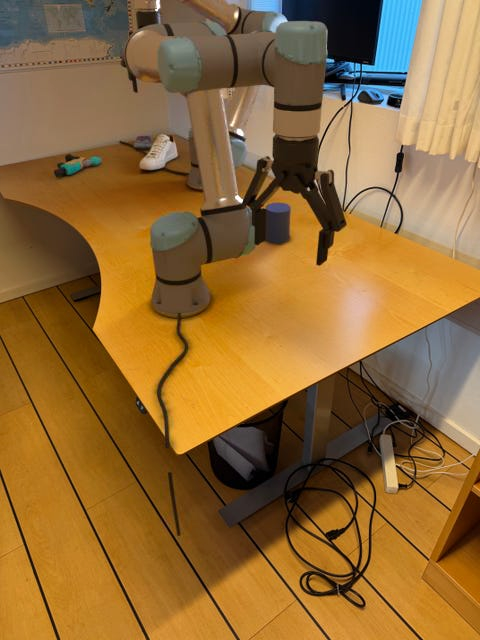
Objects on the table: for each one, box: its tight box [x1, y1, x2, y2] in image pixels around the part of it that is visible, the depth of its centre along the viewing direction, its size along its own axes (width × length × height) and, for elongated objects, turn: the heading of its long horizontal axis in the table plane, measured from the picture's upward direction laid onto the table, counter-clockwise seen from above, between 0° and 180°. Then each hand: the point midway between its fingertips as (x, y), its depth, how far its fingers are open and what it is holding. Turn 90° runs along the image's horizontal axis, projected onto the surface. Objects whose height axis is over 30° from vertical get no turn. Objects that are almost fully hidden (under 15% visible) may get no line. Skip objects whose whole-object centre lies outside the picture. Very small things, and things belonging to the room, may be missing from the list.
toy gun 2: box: [132, 135, 155, 151], centre depth 238 cm, size 4×19×15 cm
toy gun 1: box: [53, 153, 102, 178], centre depth 211 cm, size 4×26×15 cm
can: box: [265, 202, 292, 245], centre depth 152 cm, size 8×8×11 cm
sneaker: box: [139, 133, 179, 171], centre depth 214 cm, size 10×29×12 cm, turn 163°
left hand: (289, 252), depth 89 cm, fingers open, 13 cm apart
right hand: (156, 90), depth 151 cm, fingers open, 13 cm apart
